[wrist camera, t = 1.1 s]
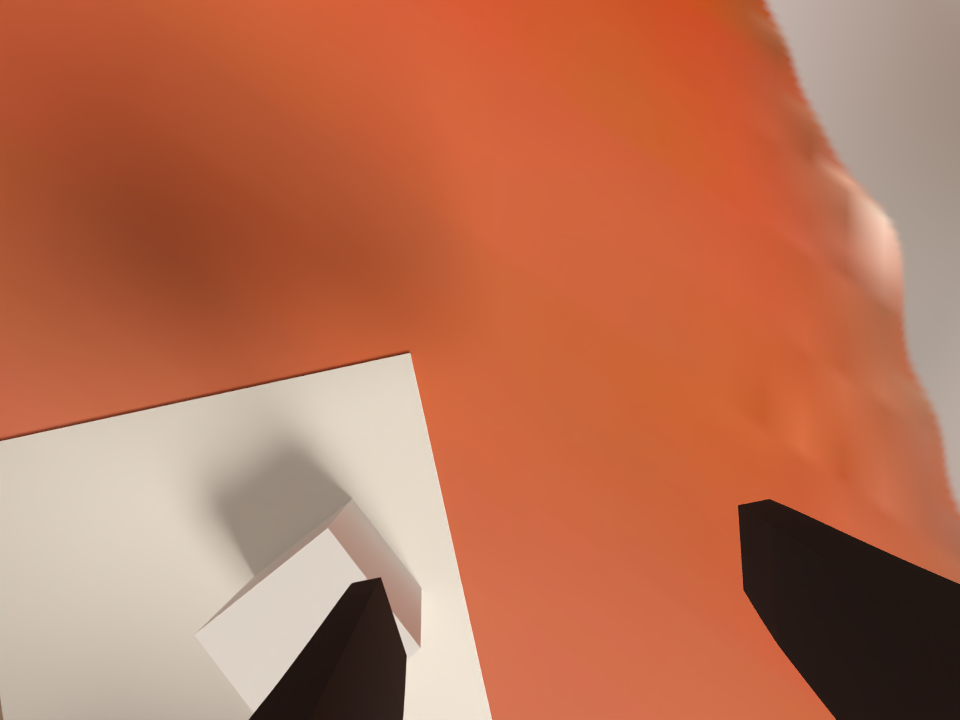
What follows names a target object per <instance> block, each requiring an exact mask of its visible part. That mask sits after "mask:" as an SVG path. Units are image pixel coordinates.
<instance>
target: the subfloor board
mask: <svg viewBox="0 0 960 720" xmlns="http://www.w3.org/2000/svg"><path fill="white" fill-rule="evenodd" d="M351 499H353V500H354V501H355V503H356V504H357V505H358V506H359V508H360V509H361V510H362V512H363V513H364V514H365V516H366V517H367V518H368V519H369V521H370V522H371V523H372V525H373V526H374V527H375V528H376V530H377V531H378V532H379V534H380V535H381V536H382V538H383V539H384V540H385V541H386V543H387V544H388V545H389V547H390V548H391V549H392V551H393V552H394V553H395V554H396V556H397V557H398V558H399V560H400V561H401V562H402V563H403V565H404V566H405V567H406V569H407V570H408V571H409V573H410V574H411V575H412V576H413V578H414V579H415V580H416V582H417V583H418V584H419V585H420V587H421V588H422V599H421V648H420V649H419V650H418V651H417V652H416V653H415V654H414V655H412V656H411V657H410V658H409V659H408V660H407V662H406V684H405V700H404V715H403V720H492V718H491V714H490V709H489V705H488V700H487V696H486V691H485V687H484V682H483V678H482V673H481V669H480V664H479V660H478V655H477V651H476V646H475V642H474V637H473V633H472V628H471V624H470V619H469V615H468V610H467V606H466V601H465V597H464V592H463V588H462V583H461V579H460V574H459V570H458V565H457V561H456V556H455V552H454V547H453V543H452V538H451V534H450V529H449V525H448V521H447V516H446V512H445V507H444V503H443V498H442V494H441V489H440V485H439V480H438V476H437V471H436V467H435V462H434V458H433V453H432V449H431V444H430V440H429V435H428V431H427V426H426V422H425V417H424V413H423V408H422V404H421V399H420V395H419V390H418V386H417V381H416V377H415V372H414V368H413V363H412V359H411V354H410V353H407V354H403V355H398V356H393V357H389V358H384V359H379V360H375V361H370V362H365V363H361V364H356V365H352V366H347V367H342V368H338V369H333V370H328V371H324V372H319V373H314V374H310V375H305V376H301V377H296V378H291V379H287V380H282V381H277V382H273V383H268V384H263V385H259V386H254V387H250V388H245V389H240V390H236V391H231V392H226V393H222V394H217V395H212V396H208V397H203V398H199V399H194V400H189V401H185V402H180V403H175V404H171V405H166V406H161V407H157V408H152V409H148V410H143V411H138V412H134V413H129V414H124V415H120V416H115V417H110V418H106V419H101V420H97V421H92V422H87V423H83V424H78V425H73V426H69V427H64V428H59V429H55V430H50V431H46V432H41V433H36V434H32V435H27V436H22V437H18V438H13V439H9V440H4V441H0V720H249V718H250V717H251V716H252V715H253V711H252V710H251V709H250V707H249V706H248V705H247V704H246V702H245V701H244V700H243V698H242V697H241V696H240V694H239V693H238V692H237V690H236V689H235V688H234V687H233V685H232V684H231V683H230V681H229V680H228V679H227V677H226V676H225V675H224V673H223V672H222V671H221V669H220V668H219V667H218V666H217V664H216V663H215V662H214V660H213V659H212V658H211V656H210V655H209V654H208V652H207V651H206V650H205V648H204V647H203V646H202V645H201V643H200V642H199V641H198V639H197V638H196V637H195V635H194V634H195V633H196V632H198V631H199V630H200V629H201V628H202V627H203V626H204V625H205V624H206V623H207V622H208V621H209V620H210V619H211V618H212V617H213V616H214V615H215V614H216V613H217V612H218V611H219V610H220V609H221V608H222V607H223V606H224V605H225V604H226V603H227V602H228V601H229V600H230V599H231V598H232V597H233V596H235V595H236V594H237V593H238V592H239V591H240V590H241V589H242V588H243V587H244V586H245V585H246V584H247V583H248V582H249V581H250V580H251V579H252V578H253V577H254V576H255V575H256V574H258V573H259V572H260V571H261V570H263V569H264V568H265V567H266V566H268V565H269V564H270V563H272V562H273V561H274V560H275V559H277V558H278V557H279V556H280V555H282V554H283V553H284V552H285V551H287V550H288V549H289V548H290V547H292V546H293V545H294V544H295V543H297V542H298V541H299V540H300V539H302V538H303V537H304V536H306V535H307V534H308V533H309V532H311V531H312V530H313V529H314V528H316V527H317V526H318V525H319V524H321V523H322V522H323V521H324V520H326V519H327V518H328V517H329V516H331V515H332V514H333V513H334V512H336V511H337V510H338V509H339V508H341V507H342V506H343V505H345V504H346V503H347V502H348V501H350V500H351Z"/></svg>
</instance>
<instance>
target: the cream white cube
mask: <svg viewBox="0 0 960 720" xmlns="http://www.w3.org/2000/svg"><path fill="white" fill-rule="evenodd" d="M379 577H381V579H382V582H383V585H384V588H385V591H386V594H387V597H388V600H389V603H390V606H391V609H392V612H393V615H394V618H395V621H396V624H397V627H398V631H399V634H400V637H401V640H402V643H403V646H404V649H405V652H406V655H407V660H408V659H409V658H410V657H411V656H412V655H414V654H415V653H416V652H417V651H418V650H419V649H420V648H421V599H422V588H421V587H420V585H419V584H418V583H417V582H416V580H415V579H414V578H413V576H412V575H411V574H410V573H409V571H408V570H407V569H406V567H405V566H404V565H403V563H402V562H401V561H400V560H399V558H398V557H397V556H396V554H395V553H394V552H393V551H392V549H391V548H390V547H389V545H388V544H387V543H386V541H385V540H384V539H383V538H382V536H381V535H380V534H379V532H378V531H377V530H376V528H375V527H374V526H373V525H372V523H371V522H370V521H369V519H368V518H367V517H366V516H365V514H364V513H363V512H362V510H361V509H360V508H359V506H358V505H357V504H356V503H355V501H354V500H353V499H351V500H350V501H348V502H347V503H346V504H345V505H343V506H342V507H341V508H339V509H338V510H337V511H336V512H334V513H333V514H332V515H331V516H329V517H328V518H327V519H326V520H324V521H323V522H322V523H321V524H319V525H318V526H317V527H316V528H314V529H313V530H312V531H311V532H309V533H308V534H307V535H306V536H304V537H303V538H302V539H300V540H299V541H298V542H297V543H295V544H294V545H293V546H292V547H290V548H289V549H288V550H287V551H285V552H284V553H283V554H282V555H280V556H279V557H278V558H277V559H275V560H274V561H273V562H272V563H270V564H269V565H268V566H266V567H265V568H264V569H263V570H261V571H260V572H259V573H258V574H256V575H255V576H254V577H253V578H252V579H251V580H250V581H249V582H248V583H247V584H246V585H245V586H244V587H243V588H242V589H241V590H240V591H239V592H238V593H237V594H236V595H235V596H233V597H232V598H231V599H230V600H229V601H228V602H227V603H226V604H225V605H224V606H223V607H222V608H221V609H220V610H219V611H218V612H217V613H216V614H215V615H214V616H213V617H212V618H211V619H210V620H209V621H208V622H207V623H206V624H205V625H204V626H203V627H202V628H201V629H200V630H199V631H198V632H196V633H195V634H194V635H195V637H196V638H197V639H198V641H199V642H200V643H201V645H202V646H203V647H204V648H205V650H206V651H207V652H208V654H209V655H210V656H211V658H212V659H213V660H214V662H215V663H216V664H217V666H218V667H219V668H220V669H221V671H222V672H223V673H224V675H225V676H226V677H227V679H228V680H229V681H230V683H231V684H232V685H233V687H234V688H235V689H236V690H237V692H238V693H239V694H240V696H241V697H242V698H243V700H244V701H245V702H246V704H247V705H248V706H249V707H250V709H251V710H252V711H253V713H254V712H255V711H256V710H257V708H258V707H259V706H260V705H261V703H262V702H263V701H264V700H265V698H266V697H267V696H268V695H269V693H270V692H271V691H272V690H273V688H274V687H275V686H276V685H277V683H278V682H279V681H280V679H281V678H282V677H283V675H284V674H285V673H286V671H287V670H288V669H289V667H290V666H291V665H292V663H293V662H294V661H295V659H296V658H297V657H298V655H299V654H300V653H301V651H302V650H303V649H304V647H305V646H306V645H307V643H308V642H309V640H310V639H311V638H312V636H313V635H314V634H315V632H316V631H317V629H318V628H319V627H320V625H321V624H322V623H323V621H324V620H325V618H326V617H327V616H328V614H329V613H330V612H331V610H332V609H333V607H334V606H335V605H336V603H337V602H338V600H339V599H340V598H341V596H342V595H343V594H344V592H345V591H346V590H347V588H348V587H349V586H350V584H351V583H354V582H359V581H364V580H369V579H374V578H379Z"/></svg>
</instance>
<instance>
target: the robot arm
mask: <svg viewBox="0 0 960 720" xmlns="http://www.w3.org/2000/svg"><path fill="white" fill-rule="evenodd" d="M738 511H739V526H740V542H741V557H742V572H743V588H744V591H745V593H746V595H747V596H748V598H749V600H750V601H751V603H752V605H753V606H754V608H755V609H756V611H757V613H758V614H759V616H760V618H761V619H762V621H763V622H764V624H765V625H766V627H767V629H768V630H769V632H770V633H771V635H772V636H773V638H774V639H775V641H776V642H777V644H778V645H779V647H780V648H781V649H782V651H783V652H784V653H785V655H786V656H787V657H788V658H789V660H790V661H791V662H792V664H793V665H794V666H795V667H796V669H797V670H798V671H799V673H800V674H801V675H802V676H803V678H804V679H805V680H806V682H807V683H808V684H809V685H810V687H811V688H812V689H813V691H814V692H815V693H816V694H817V696H818V697H819V698H820V699H821V701H822V702H823V703H824V705H825V706H826V707H827V708H828V710H829V711H830V712H831V713H832V715H833V716H834V717H835V719H836V720H960V584H958V583H956V582H953V581H951V580H949V579H946V578H944V577H942V576H939V575H937V574H935V573H932V572H930V571H928V570H925V569H923V568H921V567H918V566H916V565H914V564H912V563H909V562H907V561H905V560H903V559H900V558H898V557H896V556H894V555H891V554H889V553H887V552H885V551H883V550H880V549H878V548H876V547H874V546H872V545H869V544H867V543H865V542H863V541H861V540H858V539H856V538H854V537H852V536H850V535H848V534H846V533H843V532H841V531H839V530H837V529H835V528H833V527H830V526H828V525H826V524H824V523H822V522H820V521H818V520H815V519H813V518H811V517H809V516H807V515H805V514H802V513H800V512H798V511H796V510H794V509H791V508H789V507H787V506H784V505H782V504H780V503H777V502H775V501H773V500H770V499H768V500H763V501H758V502H753V503H748V504H743V505H738ZM406 662H407V655H406V652H405V649H404V646H403V643H402V640H401V637H400V634H399V631H398V627H397V624H396V621H395V618H394V615H393V612H392V609H391V606H390V603H389V600H388V597H387V594H386V591H385V588H384V585H383V582H382V579H381V577H379V578H374V579H369V580H364V581H359V582H354V583H351V584H350V586H349V587H348V588H347V590H346V591H345V592H344V594H343V595H342V596H341V598H340V599H339V600H338V602H337V603H336V605H335V606H334V607H333V609H332V610H331V612H330V613H329V614H328V616H327V617H326V618H325V620H324V621H323V623H322V624H321V625H320V627H319V628H318V629H317V631H316V632H315V634H314V635H313V636H312V638H311V639H310V640H309V642H308V643H307V645H306V646H305V647H304V649H303V650H302V651H301V653H300V654H299V655H298V657H297V658H296V659H295V661H294V662H293V663H292V665H291V666H290V667H289V669H288V670H287V671H286V673H285V674H284V675H283V677H282V678H281V679H280V681H279V682H278V683H277V685H276V686H275V687H274V688H273V690H272V691H271V692H270V693H269V695H268V696H267V697H266V698H265V700H264V701H263V702H262V703H261V705H260V706H259V707H258V708H257V710H256V711H255V712H254V713H253V715H252V716H251V717H250V718H249V720H403V715H404V700H405V684H406Z"/></svg>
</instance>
